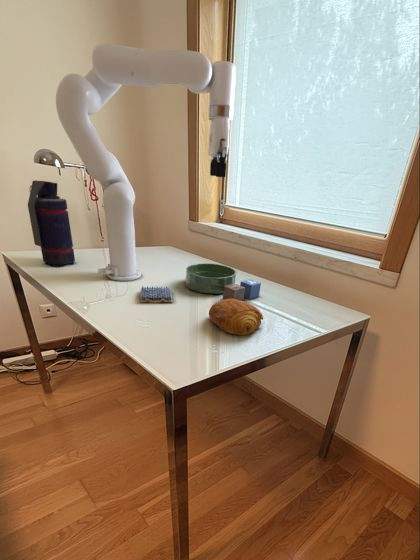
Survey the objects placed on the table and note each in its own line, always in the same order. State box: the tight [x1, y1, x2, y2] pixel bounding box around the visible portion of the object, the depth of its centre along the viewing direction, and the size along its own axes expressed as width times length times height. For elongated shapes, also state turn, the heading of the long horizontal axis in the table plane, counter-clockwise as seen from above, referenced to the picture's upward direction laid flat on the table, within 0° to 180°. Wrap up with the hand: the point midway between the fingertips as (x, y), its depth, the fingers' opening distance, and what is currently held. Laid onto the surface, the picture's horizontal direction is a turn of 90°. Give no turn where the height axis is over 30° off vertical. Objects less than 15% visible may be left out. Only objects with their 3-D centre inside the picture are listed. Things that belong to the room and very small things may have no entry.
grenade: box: [27, 180, 76, 268], centre depth 123 cm, size 14×12×30 cm
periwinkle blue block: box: [239, 278, 262, 300], centre depth 111 cm, size 5×5×5 cm
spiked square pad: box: [139, 285, 174, 303], centre depth 105 cm, size 10×11×2 cm
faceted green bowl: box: [185, 262, 238, 295], centre depth 117 cm, size 18×18×6 cm
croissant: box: [208, 298, 264, 336], centre depth 89 cm, size 14×16×8 cm
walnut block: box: [221, 283, 245, 301], centre depth 105 cm, size 5×5×5 cm
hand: (217, 176), depth 108 cm, fingers open, 9 cm apart
